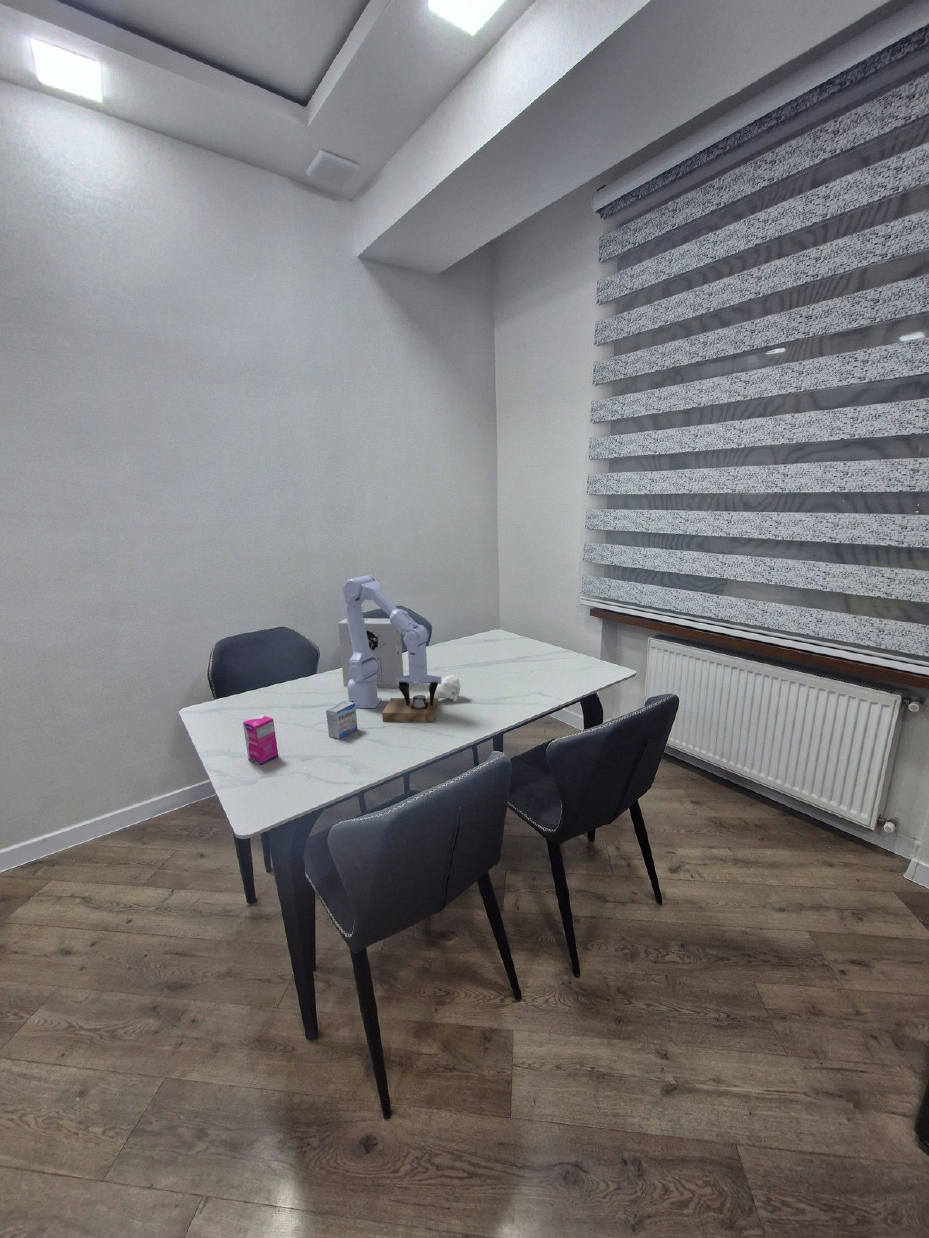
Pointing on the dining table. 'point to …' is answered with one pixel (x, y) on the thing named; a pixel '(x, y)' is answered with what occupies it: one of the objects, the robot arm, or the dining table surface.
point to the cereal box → (375, 650)
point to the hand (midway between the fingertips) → (420, 704)
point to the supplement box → (260, 739)
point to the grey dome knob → (419, 702)
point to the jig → (409, 711)
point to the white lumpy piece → (448, 688)
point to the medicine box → (341, 719)
